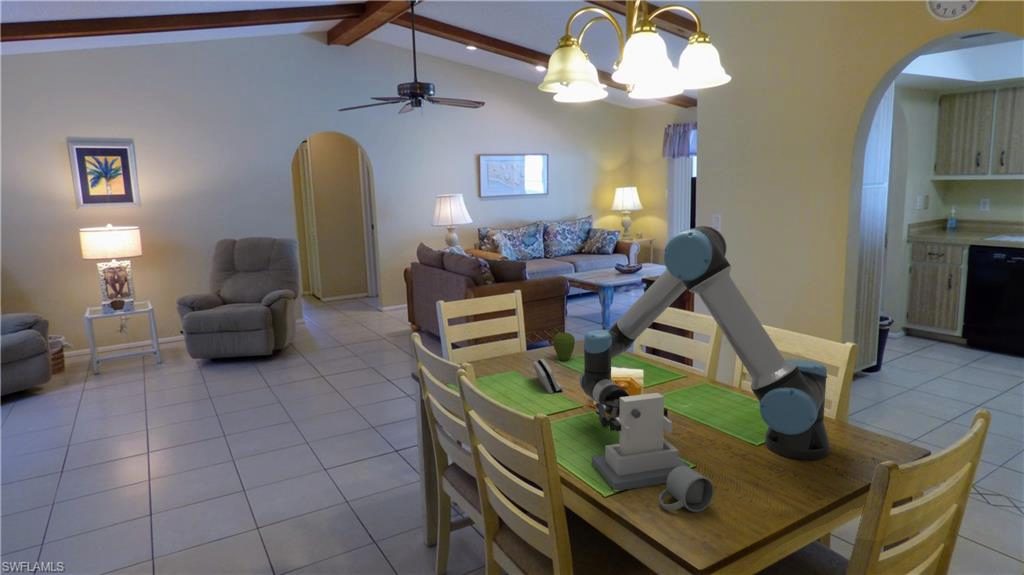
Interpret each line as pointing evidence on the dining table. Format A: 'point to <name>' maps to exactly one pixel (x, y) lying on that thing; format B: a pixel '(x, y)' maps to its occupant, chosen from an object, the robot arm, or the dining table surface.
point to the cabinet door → (642, 423)
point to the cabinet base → (637, 466)
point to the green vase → (564, 345)
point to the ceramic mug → (687, 490)
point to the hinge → (546, 376)
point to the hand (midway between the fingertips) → (649, 430)
